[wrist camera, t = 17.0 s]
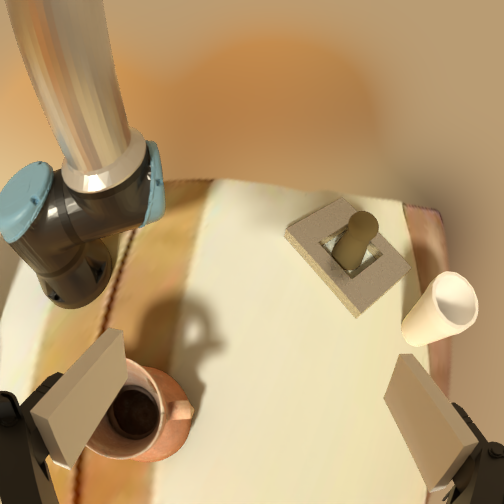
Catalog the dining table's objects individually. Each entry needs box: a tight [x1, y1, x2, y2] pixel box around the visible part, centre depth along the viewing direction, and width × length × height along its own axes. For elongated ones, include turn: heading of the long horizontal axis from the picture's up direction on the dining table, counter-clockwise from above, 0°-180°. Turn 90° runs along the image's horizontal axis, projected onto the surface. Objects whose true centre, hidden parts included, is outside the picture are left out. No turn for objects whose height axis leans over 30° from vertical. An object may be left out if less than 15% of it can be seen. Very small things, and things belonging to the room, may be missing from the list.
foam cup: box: [401, 271, 478, 346], centre depth 43 cm, size 10×9×13 cm
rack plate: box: [284, 197, 412, 318], centre depth 55 cm, size 20×15×2 cm
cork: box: [332, 211, 379, 270], centre depth 51 cm, size 6×6×11 cm
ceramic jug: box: [85, 358, 195, 462], centre depth 33 cm, size 18×14×14 cm
